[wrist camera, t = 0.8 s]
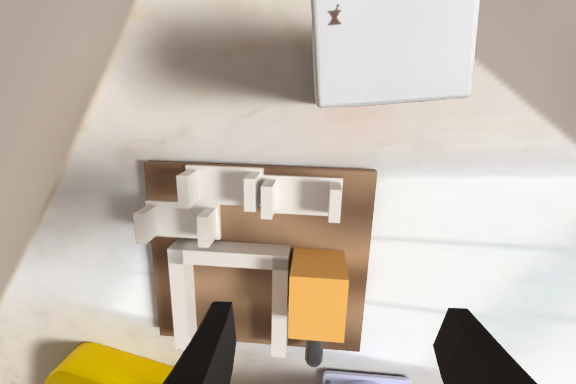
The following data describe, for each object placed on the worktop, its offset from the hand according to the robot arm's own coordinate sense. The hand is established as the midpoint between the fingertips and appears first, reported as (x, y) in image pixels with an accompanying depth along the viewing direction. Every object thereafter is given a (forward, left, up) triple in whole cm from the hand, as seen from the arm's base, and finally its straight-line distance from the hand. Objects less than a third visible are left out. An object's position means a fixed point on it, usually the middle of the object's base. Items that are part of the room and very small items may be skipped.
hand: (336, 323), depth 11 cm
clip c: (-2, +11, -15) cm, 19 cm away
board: (-6, +5, -16) cm, 17 cm away
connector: (-9, 0, -15) cm, 17 cm away
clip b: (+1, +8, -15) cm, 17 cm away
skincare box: (+9, -2, -16) cm, 18 cm away
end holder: (-9, +7, -15) cm, 19 cm away
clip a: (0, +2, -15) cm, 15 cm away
